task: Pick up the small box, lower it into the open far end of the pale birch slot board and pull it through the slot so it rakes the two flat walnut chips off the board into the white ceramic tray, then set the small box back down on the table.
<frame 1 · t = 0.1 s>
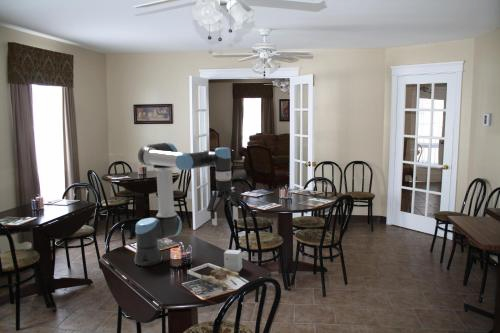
hand: (225, 222, 212), 28 cm above the table, fingers open, 13 cm apart
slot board: (220, 279, 212), on the table
small box: (233, 271, 222), on the table
chip b: (216, 275, 215), point 1 cm above the table, touching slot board
chip a: (220, 277, 211), point 1 cm above the table, touching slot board
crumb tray: (204, 274, 219), on the table
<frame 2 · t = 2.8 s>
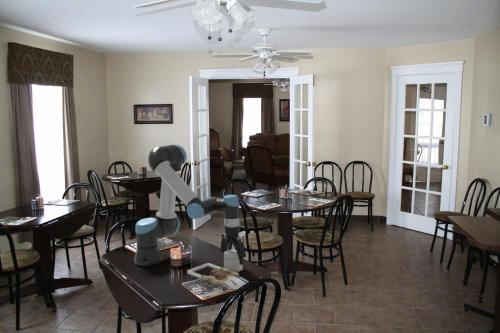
hand: (233, 267, 222), 2 cm above the table, fingers closed on small box, 9 cm apart
small box: (233, 271, 222), on the table, touching gripper
everything else where it was.
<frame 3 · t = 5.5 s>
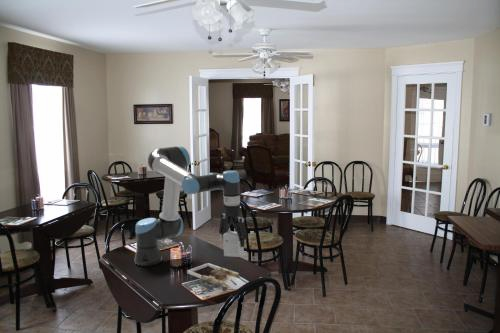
hand: (233, 251, 202), 17 cm above the table, fingers closed on small box, 9 cm apart
small box: (233, 255, 203), point 15 cm above the table, touching gripper
everything else where it was.
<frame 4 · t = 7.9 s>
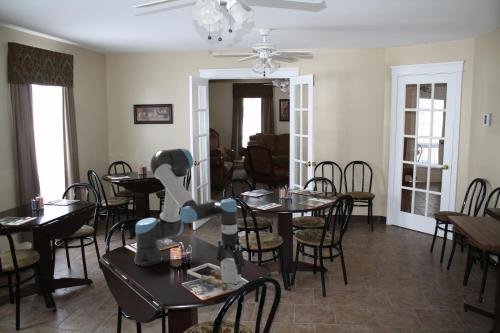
hand: (230, 277, 206), 3 cm above the table, fingers closed on small box, 9 cm apart
small box: (231, 281, 206), point 1 cm above the table, touching gripper
chip a: (220, 277, 211), point 1 cm above the table, touching gripper, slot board
everything else where it was.
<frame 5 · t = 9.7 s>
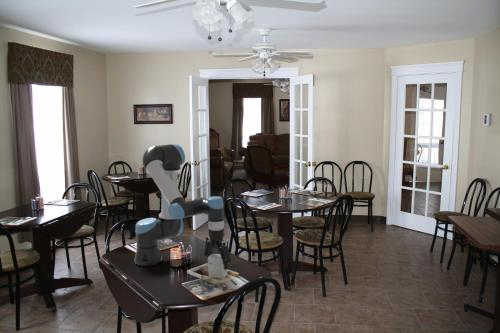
hand: (217, 272, 212), 3 cm above the table, fingers closed on small box, 9 cm apart
small box: (217, 276, 213), point 1 cm above the table, touching gripper
chip b: (205, 271, 221), point 1 cm above the table, touching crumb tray
chip a: (208, 274, 217), point 1 cm above the table, touching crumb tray
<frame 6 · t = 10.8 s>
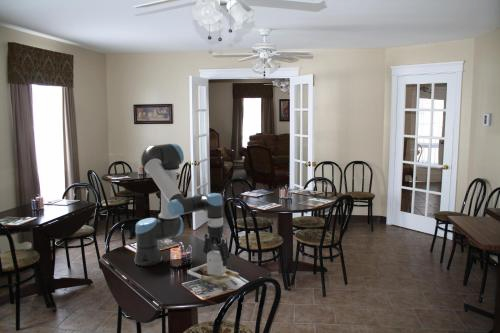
hand: (216, 269, 213), 5 cm above the table, fingers closed on small box, 9 cm apart
small box: (216, 273, 213), point 3 cm above the table, touching gripper
chip a: (208, 273, 217), point 1 cm above the table, tilted 8°, touching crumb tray
everything else where it was.
when the fingers open (3 cm above the table, at t = 15.2 s): small box drops 1 cm, on the table.
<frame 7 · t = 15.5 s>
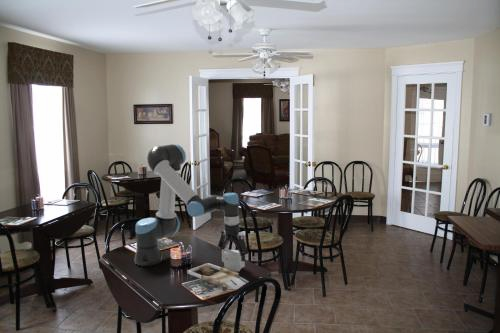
hand: (233, 264, 222), 4 cm above the table, fingers open, 12 cm apart
small box: (233, 271, 222), on the table
chip a: (208, 274, 217), point 1 cm above the table, touching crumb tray
everything else where it was.
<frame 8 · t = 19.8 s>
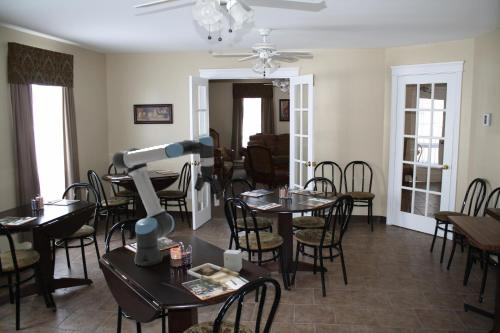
hand: (208, 203, 236), 32 cm above the table, fingers open, 13 cm apart
nothing on the table moved.
at the end: chip a inside the target area on the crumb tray (2.0 cm from its centre), point 0.6 cm above the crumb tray's base; chip b inside the target area on the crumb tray (2.8 cm from its centre), point 0.6 cm above the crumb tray's base; small box tilted 0° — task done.
